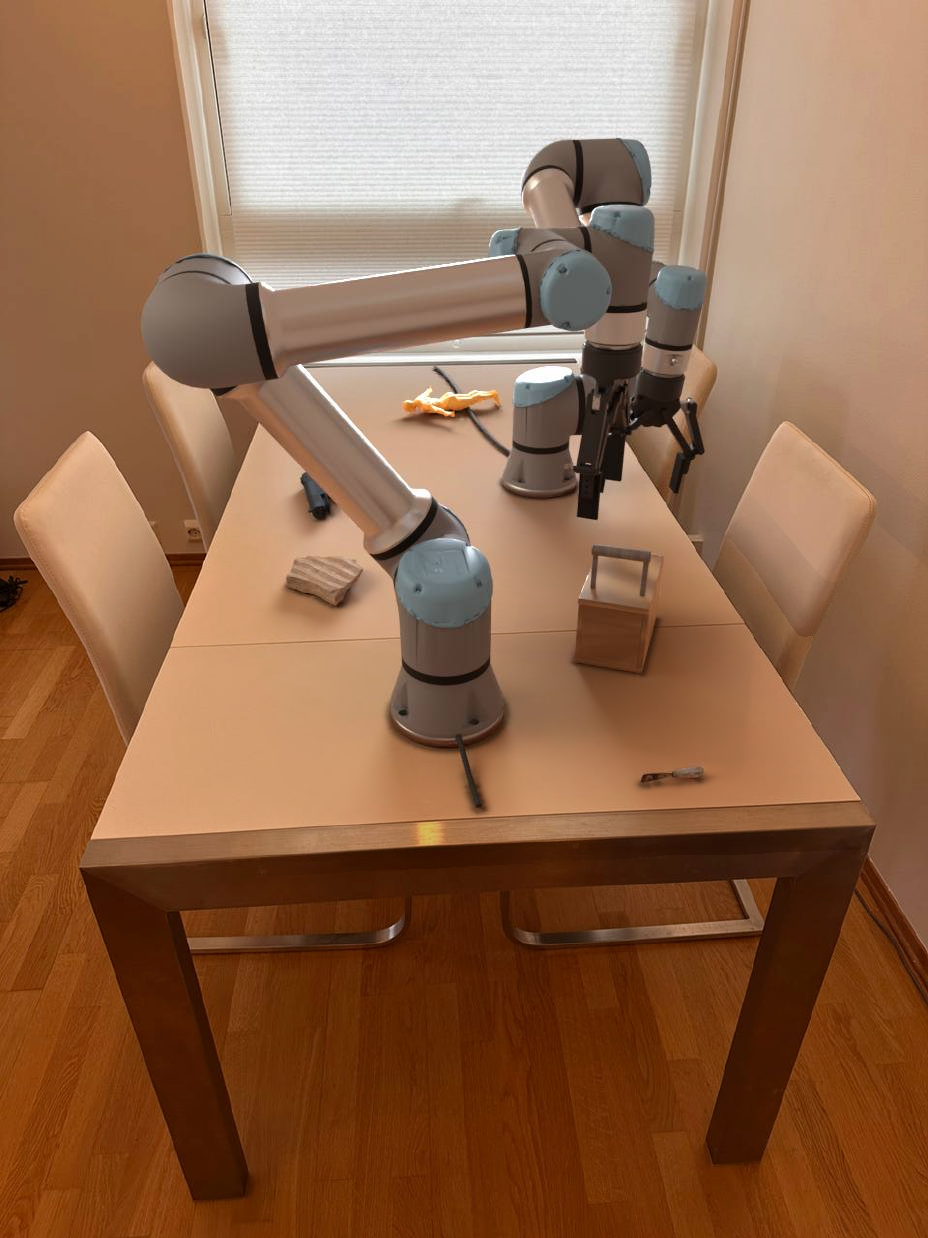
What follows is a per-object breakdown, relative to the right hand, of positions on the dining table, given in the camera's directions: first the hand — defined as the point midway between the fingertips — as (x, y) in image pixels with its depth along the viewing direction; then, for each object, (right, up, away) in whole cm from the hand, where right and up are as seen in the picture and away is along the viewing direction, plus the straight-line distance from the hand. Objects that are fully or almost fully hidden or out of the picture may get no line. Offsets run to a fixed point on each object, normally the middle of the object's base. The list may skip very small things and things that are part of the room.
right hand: (636, 489), depth 155 cm
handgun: (-56, +2, +26) cm, 62 cm away
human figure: (-33, +30, +71) cm, 84 cm away
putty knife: (-4, -42, -45) cm, 62 cm away
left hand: (-11, -6, -32) cm, 34 cm away
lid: (-7, -17, -25) cm, 31 cm away
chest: (-7, -26, -19) cm, 32 cm away
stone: (-54, -17, -4) cm, 56 cm away
